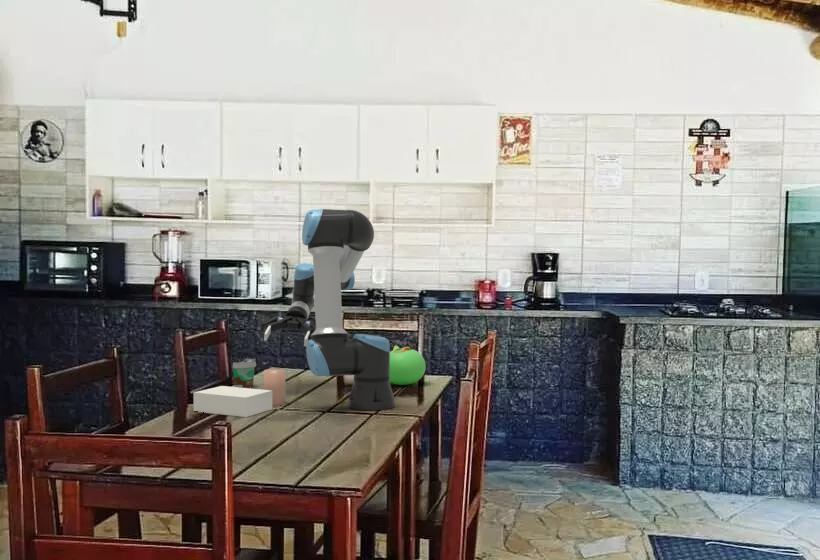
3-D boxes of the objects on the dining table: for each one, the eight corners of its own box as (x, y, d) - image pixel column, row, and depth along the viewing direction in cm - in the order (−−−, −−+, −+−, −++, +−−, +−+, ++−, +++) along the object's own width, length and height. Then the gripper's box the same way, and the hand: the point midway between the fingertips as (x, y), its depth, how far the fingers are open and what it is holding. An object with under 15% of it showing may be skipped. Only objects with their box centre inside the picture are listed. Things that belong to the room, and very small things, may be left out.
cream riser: (272, 409, 264) (272, 390, 264) (246, 417, 251) (245, 397, 251) (221, 404, 273) (221, 385, 272) (193, 411, 260) (193, 392, 260)
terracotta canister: (289, 402, 276) (289, 369, 275) (277, 406, 269) (277, 372, 269) (271, 401, 279) (271, 368, 278) (259, 404, 272) (259, 371, 272)
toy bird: (408, 389, 302) (408, 349, 301) (370, 385, 311) (370, 346, 310) (433, 383, 317) (433, 345, 317) (396, 379, 326) (396, 342, 325)
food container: (248, 390, 299) (248, 363, 298) (232, 390, 300) (232, 362, 299) (261, 385, 311) (261, 358, 310) (246, 384, 312) (246, 358, 312)
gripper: (330, 329, 299) (321, 354, 280) (262, 320, 300) (248, 345, 280) (332, 310, 297) (322, 334, 277) (263, 301, 297) (249, 324, 277)
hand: (285, 340), depth 279 cm, fingers open, 13 cm apart
